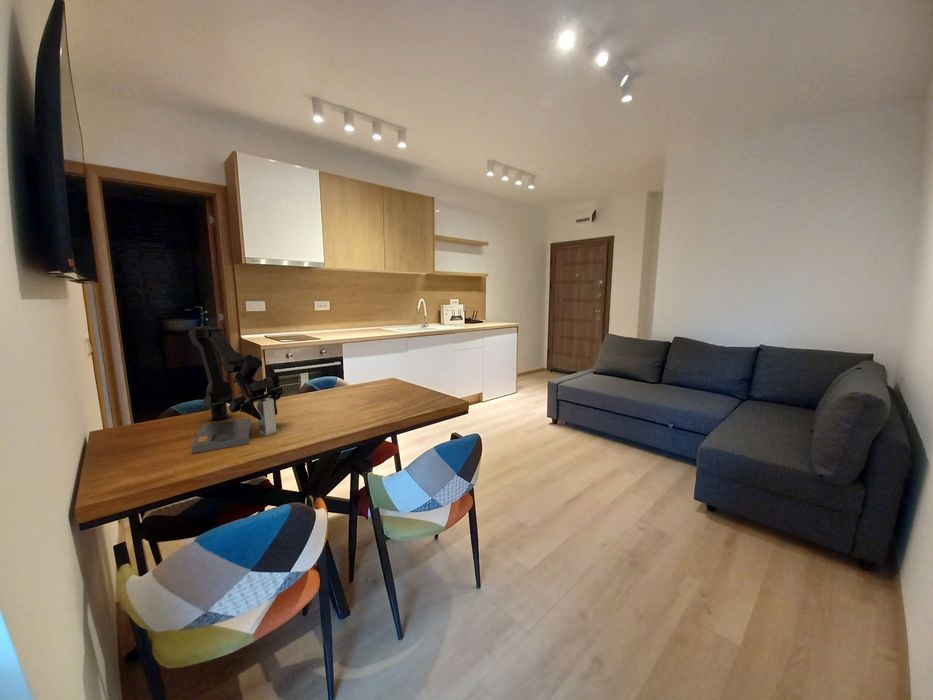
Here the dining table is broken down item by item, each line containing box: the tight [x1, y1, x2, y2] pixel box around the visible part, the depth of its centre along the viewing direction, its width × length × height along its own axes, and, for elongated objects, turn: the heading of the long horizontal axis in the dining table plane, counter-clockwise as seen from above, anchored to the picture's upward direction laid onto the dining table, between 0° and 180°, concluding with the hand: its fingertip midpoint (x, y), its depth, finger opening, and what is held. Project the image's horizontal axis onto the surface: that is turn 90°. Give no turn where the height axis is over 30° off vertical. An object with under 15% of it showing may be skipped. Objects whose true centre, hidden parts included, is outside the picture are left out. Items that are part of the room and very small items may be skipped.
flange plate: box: [190, 417, 252, 454], centre depth 131 cm, size 22×16×3 cm
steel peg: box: [256, 398, 277, 437], centre depth 134 cm, size 4×4×13 cm
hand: (268, 416), depth 133 cm, fingers open, 6 cm apart
